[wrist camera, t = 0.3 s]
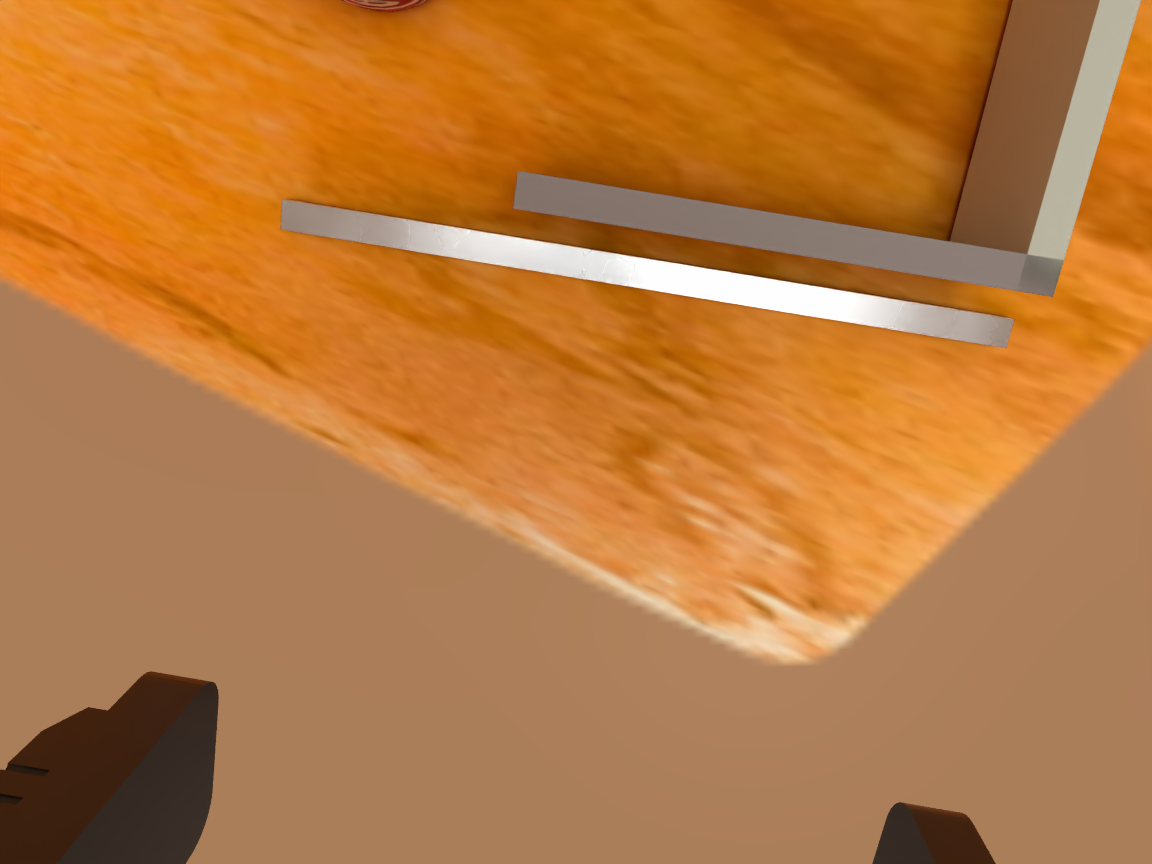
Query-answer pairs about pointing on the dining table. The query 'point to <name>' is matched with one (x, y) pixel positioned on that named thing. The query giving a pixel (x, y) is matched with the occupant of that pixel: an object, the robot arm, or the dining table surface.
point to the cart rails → (645, 273)
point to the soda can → (386, 4)
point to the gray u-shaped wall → (993, 184)
